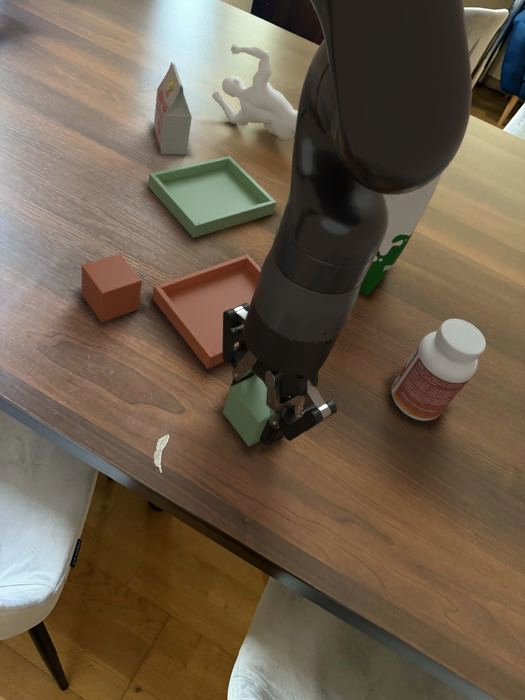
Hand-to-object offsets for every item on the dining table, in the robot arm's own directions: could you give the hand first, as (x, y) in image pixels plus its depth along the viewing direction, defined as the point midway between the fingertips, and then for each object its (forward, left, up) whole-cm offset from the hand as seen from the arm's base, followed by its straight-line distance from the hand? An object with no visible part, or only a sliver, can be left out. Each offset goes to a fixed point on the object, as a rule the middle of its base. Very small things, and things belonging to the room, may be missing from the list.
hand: (254, 418), depth 57 cm
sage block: (0, 0, 0) cm, 0 cm away
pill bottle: (+18, -7, -1) cm, 19 cm away
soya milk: (+26, +12, -1) cm, 29 cm away
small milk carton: (+18, +45, -1) cm, 48 cm away
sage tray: (+16, +31, 0) cm, 35 cm away
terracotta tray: (+6, +13, 0) cm, 14 cm away
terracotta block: (-5, +20, 0) cm, 21 cm away
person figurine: (+34, +41, -1) cm, 53 cm away
